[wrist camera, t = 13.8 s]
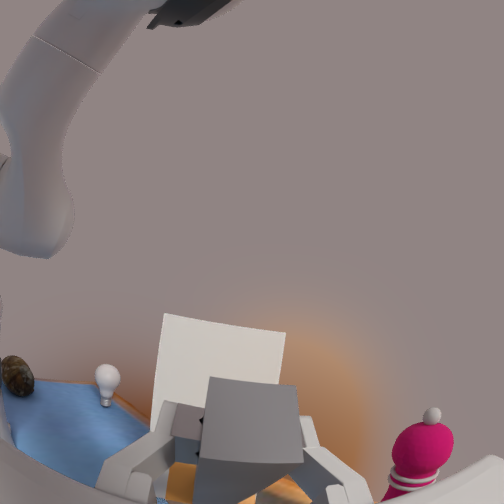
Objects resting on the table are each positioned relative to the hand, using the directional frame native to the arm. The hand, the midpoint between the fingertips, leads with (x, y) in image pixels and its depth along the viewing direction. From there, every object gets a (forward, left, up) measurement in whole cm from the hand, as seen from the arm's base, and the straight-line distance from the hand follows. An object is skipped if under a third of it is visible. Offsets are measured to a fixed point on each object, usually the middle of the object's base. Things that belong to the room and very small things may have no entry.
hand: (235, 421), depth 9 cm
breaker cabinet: (0, +27, -22) cm, 35 cm away
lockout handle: (0, +3, -7) cm, 8 cm away
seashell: (-42, +38, -23) cm, 61 cm away
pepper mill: (+18, +7, -23) cm, 30 cm away
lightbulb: (-24, +51, -23) cm, 61 cm away
